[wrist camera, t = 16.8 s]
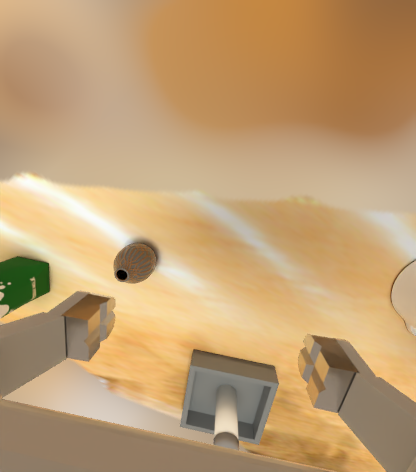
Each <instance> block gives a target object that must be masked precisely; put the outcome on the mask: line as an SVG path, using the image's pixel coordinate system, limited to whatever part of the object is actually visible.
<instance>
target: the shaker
mask: <svg viewBox="0 0 416 472" xmlns="http://www.w3.org/2000/svg"><path fill="white" fill-rule="evenodd" d="M214 445H216V446H220V447H225V448H230V449H234V450H239V441H238V419H237V395H236V390H235V389H234V388H233V387H232V386H230V385H221V386H219V387H218V388H217V393H216V412H215V431H214Z"/></svg>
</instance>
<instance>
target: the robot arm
mask: <svg viewBox="0 0 416 472" xmlns="http://www.w3.org/2000/svg"><path fill="white" fill-rule="evenodd" d="M391 299H392V304H393V306H394V308H395V310H396V311H397V313H398V314H399V315H400V316H401V317H402V318H403V319H404V320H405V323H406V327H407V329H408V331H409V332H410V333H412V334H413V335H415V336H416V261H414V262H413V263H411V264H410V265H408V266H407V267H406V268H405V269H404V270H403V271H402V272H401V273H400V275H399V276H398V277H397V279H396V281H395V283H394V285H393V288H392V293H391ZM114 307H115V299H114V297H109V296H104V295H100V294H95V293H90V292H85V291H77V292H76V293H74V294H73V295H71V296H70V297H69V298H67V299H66V300H64V301H63V302H62V303H60V304H59V305H57V306H56V307H55V308H53V309H52V310H50V311H49V312H48V313H44V312H42V313H39V314H36V315H33V316H29V317H26V318H23V319H20V320H16V321H13V322H10V323H7V324H3V325H0V472H336V471H331V470H327V469H322V468H318V467H313V466H308V465H304V464H299V463H294V462H290V461H285V460H280V459H276V458H271V457H267V456H262V455H257V454H253V453H248V452H243V451H239V450H234V449H230V448H225V447H220V446H216V445H211V444H206V443H202V442H197V441H193V440H188V439H184V438H179V437H174V436H170V435H165V434H160V433H156V432H152V431H147V430H142V429H138V428H133V427H128V426H124V425H119V424H115V423H110V422H106V421H101V420H96V419H92V418H87V417H83V416H78V415H74V414H69V413H64V412H60V411H55V410H50V409H46V408H41V407H37V406H32V405H28V404H23V403H18V402H13V401H9V400H4V399H2V398H3V397H4V396H6V395H8V394H9V393H11V392H13V391H14V390H16V389H17V388H19V387H21V386H22V385H24V384H26V383H27V382H29V381H31V380H32V379H34V378H36V377H37V376H39V375H41V374H42V373H44V372H46V371H47V370H49V369H51V368H52V367H54V366H56V365H57V364H59V363H61V362H62V361H64V360H66V358H71V359H76V360H82V361H88V362H89V360H90V359H91V358H92V357H93V355H94V354H95V353H96V351H97V350H98V349H99V348H100V342H101V341H103V340H105V339H107V337H108V336H109V334H110V333H111V331H112V329H113V327H114V323H115V314H114V313H113V311H112V310H113V309H114ZM303 342H304V345H305V348H303V349H302V350H301V351H300V353H299V357H298V366H299V371H300V374H301V377H302V378H303V379H304V380H305V381H306V382H307V383H308V385H307V388H306V390H307V392H308V395H309V397H310V400H311V402H312V405H313V407H314V408H318V409H323V410H327V411H331V412H335V413H339V414H338V415H339V416H340V417H341V418H342V420H343V421H344V422H345V423H346V424H347V426H348V427H349V428H350V429H351V430H352V431H353V433H354V434H355V435H356V436H357V437H358V438H359V440H360V441H361V442H362V443H363V444H364V445H365V447H366V448H367V449H368V450H369V451H370V453H371V454H372V455H373V456H374V457H375V458H376V460H377V461H378V462H379V463H380V464H381V465H382V467H383V468H384V469H385V470H386V471H387V472H416V403H415V402H414V401H413V400H411V399H410V398H408V397H407V396H406V395H404V394H403V393H401V392H400V391H399V390H397V389H396V388H394V387H393V386H392V385H390V384H389V383H387V382H386V381H385V380H383V379H382V378H380V377H376V376H375V374H374V373H373V372H372V371H371V369H370V368H369V367H368V365H367V364H366V363H365V362H364V360H363V359H362V358H361V357H360V355H359V354H358V353H357V351H356V350H355V349H354V348H353V346H352V345H351V344H350V343H349V342H348V341H346V340H342V339H336V338H327V337H322V336H316V335H311V334H307V335H306V336H305V338H304V341H303Z"/></svg>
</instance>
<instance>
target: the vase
mask: <svg viewBox="0 0 416 472" xmlns="http://www.w3.org/2000/svg"><path fill="white" fill-rule="evenodd" d="M155 266H156V256H155V253H154V251H153V250H152V249H151V248H150V247H149V246H147V245H145V244H141V243H135V244H131V245H128V246H126V247H124V248H123V249H122V250H121V251H120V252H119V253H118V254H117V256H116V258H115V260H114V271H115V278H116V279H117V280H118V281H120V282H126V283H139V282H141V281H143V280H145V279H147V278H148V277H149V276H150V275H151V274H152V272H153V271H154V269H155Z"/></svg>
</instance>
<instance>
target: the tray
mask: <svg viewBox="0 0 416 472" xmlns="http://www.w3.org/2000/svg"><path fill="white" fill-rule="evenodd" d="M221 385H230V386H232V387H233V388H234V389H235V390H236V395H237V419H238V440H240V441H245V442H249V443H253V444H258V445H259V442H260V439H261V436H262V433H263V430H264V427H265V424H266V421H267V418H268V415H269V412H270V409H271V406H272V403H273V400H274V397H275V394H276V391H277V388H278V385H279V383H278V379H277V375H276V371H275V367H274V366H271V365H266V364H261V363H257V362H252V361H247V360H242V359H237V358H233V357H228V356H223V355H218V354H213V353H208V352H204V351H199V350H193V355H192V360H191V365H190V371H189V377H188V383H187V389H186V395H185V400H184V406H183V412H182V418H181V424H180V427H183V428H188V429H192V430H197V431H201V432H205V433H210V434H214V431H215V412H216V393H217V388H218V387H219V386H221Z"/></svg>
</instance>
